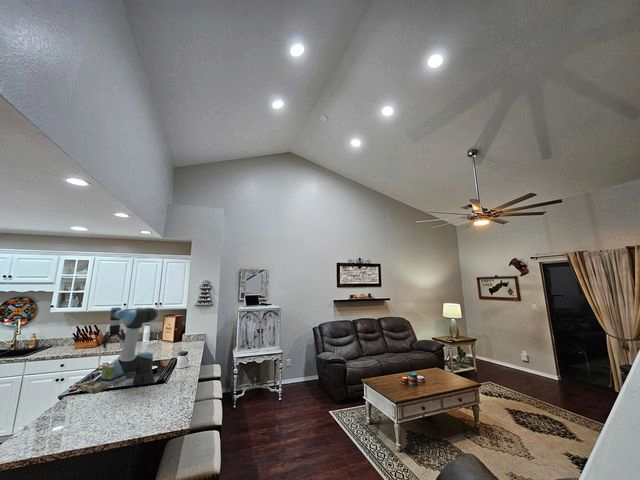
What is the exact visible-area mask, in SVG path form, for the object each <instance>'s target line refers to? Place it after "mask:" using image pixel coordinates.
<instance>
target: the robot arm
mask: <svg viewBox="0 0 640 480" xmlns="http://www.w3.org/2000/svg"><path fill="white" fill-rule="evenodd" d="M158 315H159V312H158V310H157V309H156V308H153V307H146V308H143V307H137V308H131V309H130V308H128V309H127V308H126V309H122V307H121V306H115V307H111V308H110V316H109V318H110V319H109V320H110V321H109V331H105V334H104V336H103V337H102V340H101V342H100V344H103V345H102V348H103V352H107V351H108V342H109V340H110V339H111V338H113V337H115V336H117V337H118V338H119V339H120V341H119V343H120V344H119V349H122V351H121V354H120V355H119V356H118V359H116V360H114V363H115V364H114V365H115V371H116V373H117V374H118V375H121V374H125V373H126V374H128V373H132V372H135V374H134V377H133V379H132V385H134V386H141V385H147V384H150V383H152V382H153V381H154V380H155V375H154V373H153V363H154V362H153V360H154V354H153V353H151V352H145V351H144V352H138V353H137V354H135V352H136V349H137V348H136V347H137V343H138V339H139V334H140V329H141V328H142V327H143V324H146V323H151V322H153V321H155V320H156V319H157V318H158ZM122 319H123V322H122V323H123V325H124V326H125V328H126V331H125V332H124V329H123V328H121V320H122Z"/></svg>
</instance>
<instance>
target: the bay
mask: <svg viewBox="0 0 640 480" xmlns="http://www.w3.org/2000/svg"><path fill="white" fill-rule="evenodd" d="M94 385H95V386H94ZM105 388H108V389H109V386H108V383H106V384H103V385H98V386H96V380H91V381H88V382H84V383H81V384H79V390H80V389H81V390H85V391H87V392H86V393H89V394H96V393H99V392H103V391H104V390H103V389H105ZM81 390H80V391H81ZM102 390H103V391H102ZM105 390H106V389H105ZM85 391H84V392H85Z"/></svg>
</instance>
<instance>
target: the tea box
mask: <svg viewBox="0 0 640 480" xmlns="http://www.w3.org/2000/svg"><path fill="white" fill-rule="evenodd" d="M114 364H115V362H113V363H110V364H107V365H106V364H105V365H103V366H102V368H101V376H100V385H103V384H106V383H108V385H111V386H112V384H113V385H115V384H117V382H118V383H120V382H123V381H126V380H127V373H125V374H121V375H118V374H117V373H116V371H115V365H114ZM125 379H126V380H125ZM122 380H123V381H122ZM100 385H99V386H100Z"/></svg>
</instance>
